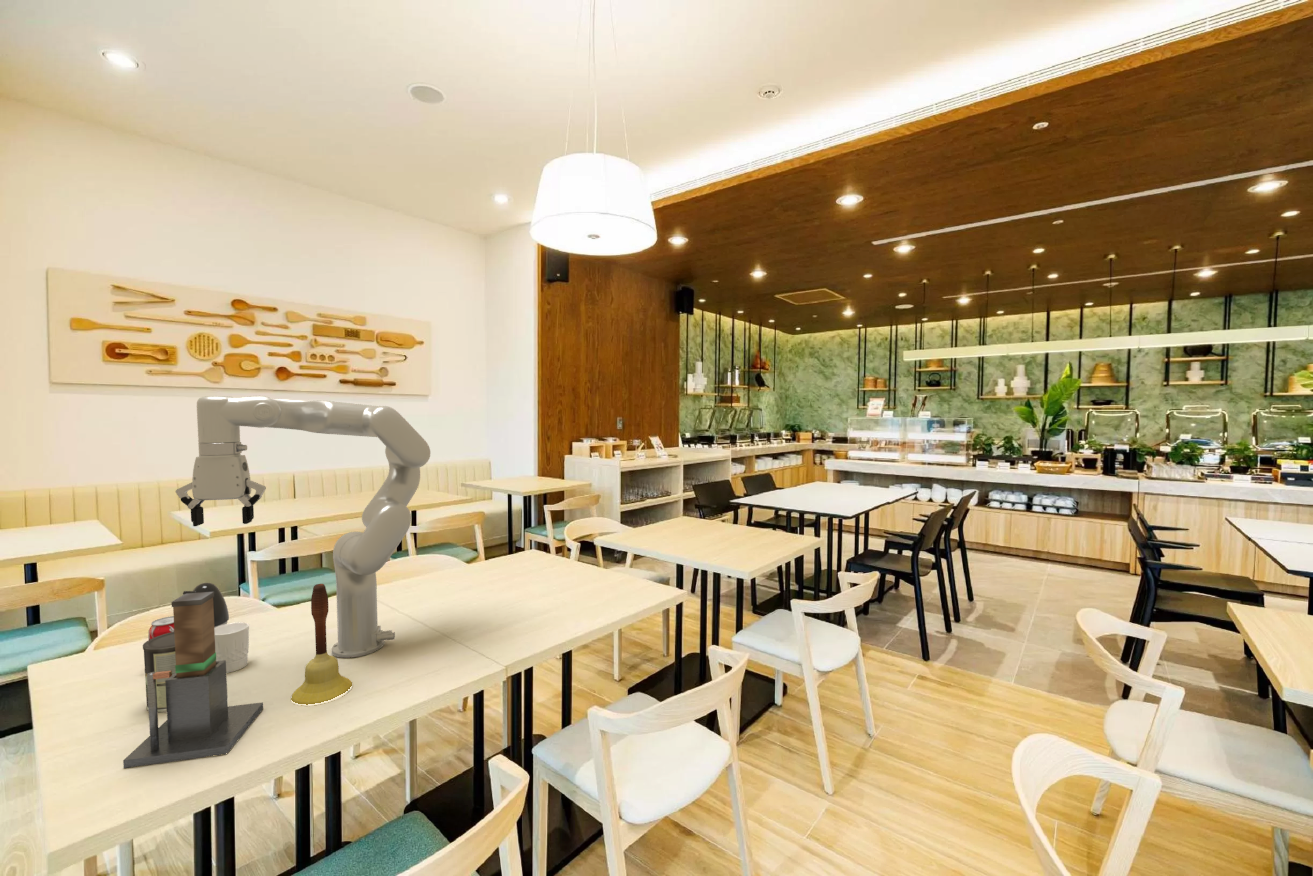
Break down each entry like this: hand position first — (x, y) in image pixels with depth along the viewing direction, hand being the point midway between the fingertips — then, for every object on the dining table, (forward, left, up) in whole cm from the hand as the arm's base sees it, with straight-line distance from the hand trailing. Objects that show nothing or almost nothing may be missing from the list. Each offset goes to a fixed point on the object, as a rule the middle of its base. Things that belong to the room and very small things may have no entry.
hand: (223, 523), depth 127 cm
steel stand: (-4, +22, -38) cm, 44 cm away
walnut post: (-4, +22, -29) cm, 37 cm away
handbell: (-22, +9, -38) cm, 45 cm away
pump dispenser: (+20, -34, -38) cm, 55 cm away
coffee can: (+8, +5, -38) cm, 40 cm away
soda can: (+19, -14, -38) cm, 45 cm away
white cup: (+4, -10, -38) cm, 40 cm away
